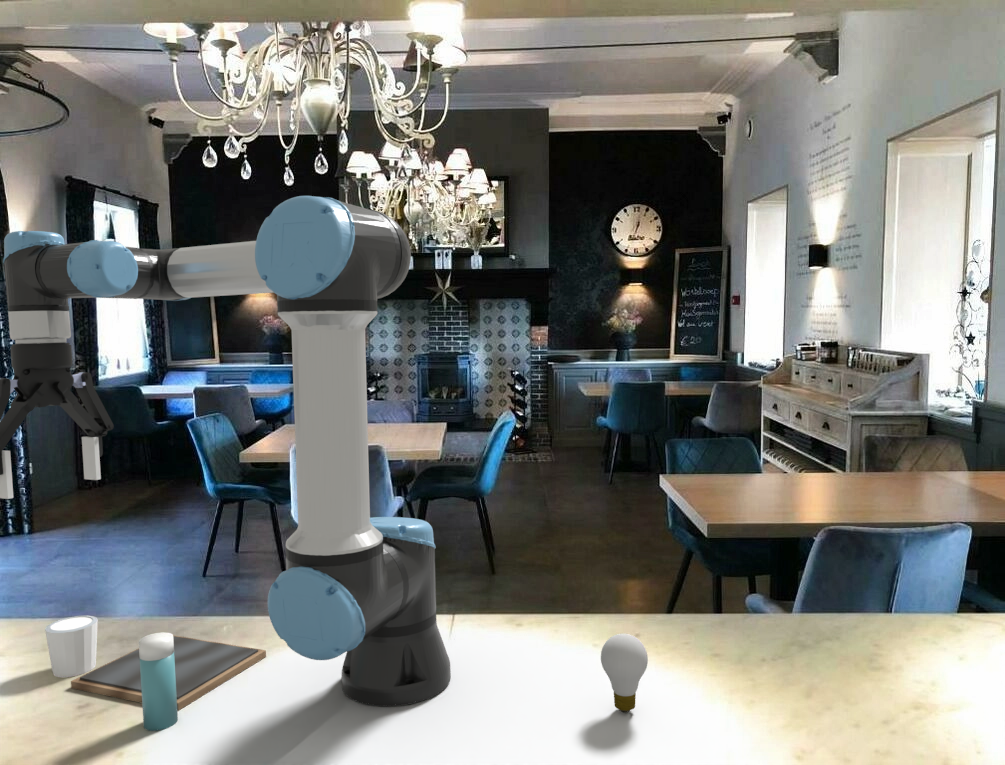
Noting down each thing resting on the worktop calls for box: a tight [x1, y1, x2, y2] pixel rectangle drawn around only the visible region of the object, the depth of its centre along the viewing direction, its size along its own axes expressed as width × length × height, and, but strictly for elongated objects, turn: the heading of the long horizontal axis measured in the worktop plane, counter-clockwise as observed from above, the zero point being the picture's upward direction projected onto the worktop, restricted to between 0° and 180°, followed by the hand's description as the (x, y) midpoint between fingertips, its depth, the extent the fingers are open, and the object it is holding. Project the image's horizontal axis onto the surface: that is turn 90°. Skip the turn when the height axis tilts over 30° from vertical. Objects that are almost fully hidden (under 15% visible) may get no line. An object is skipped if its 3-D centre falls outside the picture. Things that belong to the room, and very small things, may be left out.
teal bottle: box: [138, 632, 179, 732], centre depth 98 cm, size 4×4×11 cm
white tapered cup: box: [44, 615, 98, 678], centre depth 115 cm, size 7×7×7 cm
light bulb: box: [600, 633, 649, 714], centre depth 98 cm, size 6×6×10 cm
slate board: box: [70, 634, 267, 711], centre depth 113 cm, size 20×18×1 cm
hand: (50, 488), depth 112 cm, fingers open, 13 cm apart
